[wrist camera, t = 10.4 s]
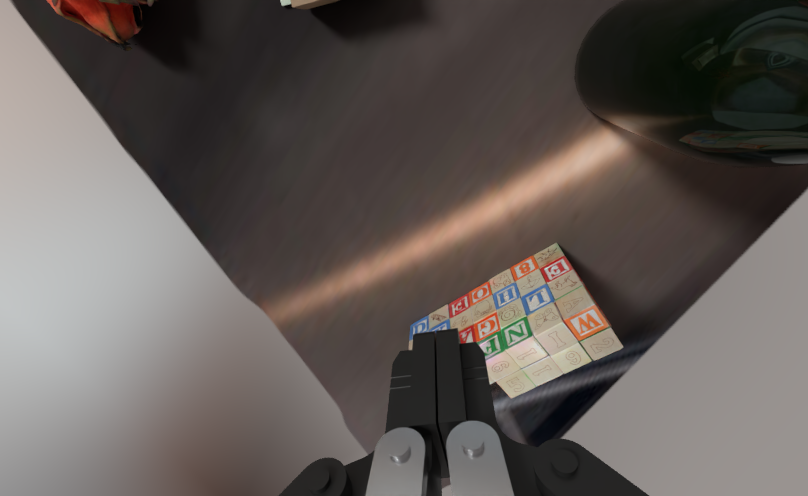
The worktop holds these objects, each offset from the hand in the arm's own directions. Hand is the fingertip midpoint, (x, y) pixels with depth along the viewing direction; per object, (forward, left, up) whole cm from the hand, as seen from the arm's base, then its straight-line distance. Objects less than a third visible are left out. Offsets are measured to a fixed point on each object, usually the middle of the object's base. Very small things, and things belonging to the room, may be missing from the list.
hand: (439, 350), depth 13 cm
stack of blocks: (-4, +22, -31) cm, 39 cm away
